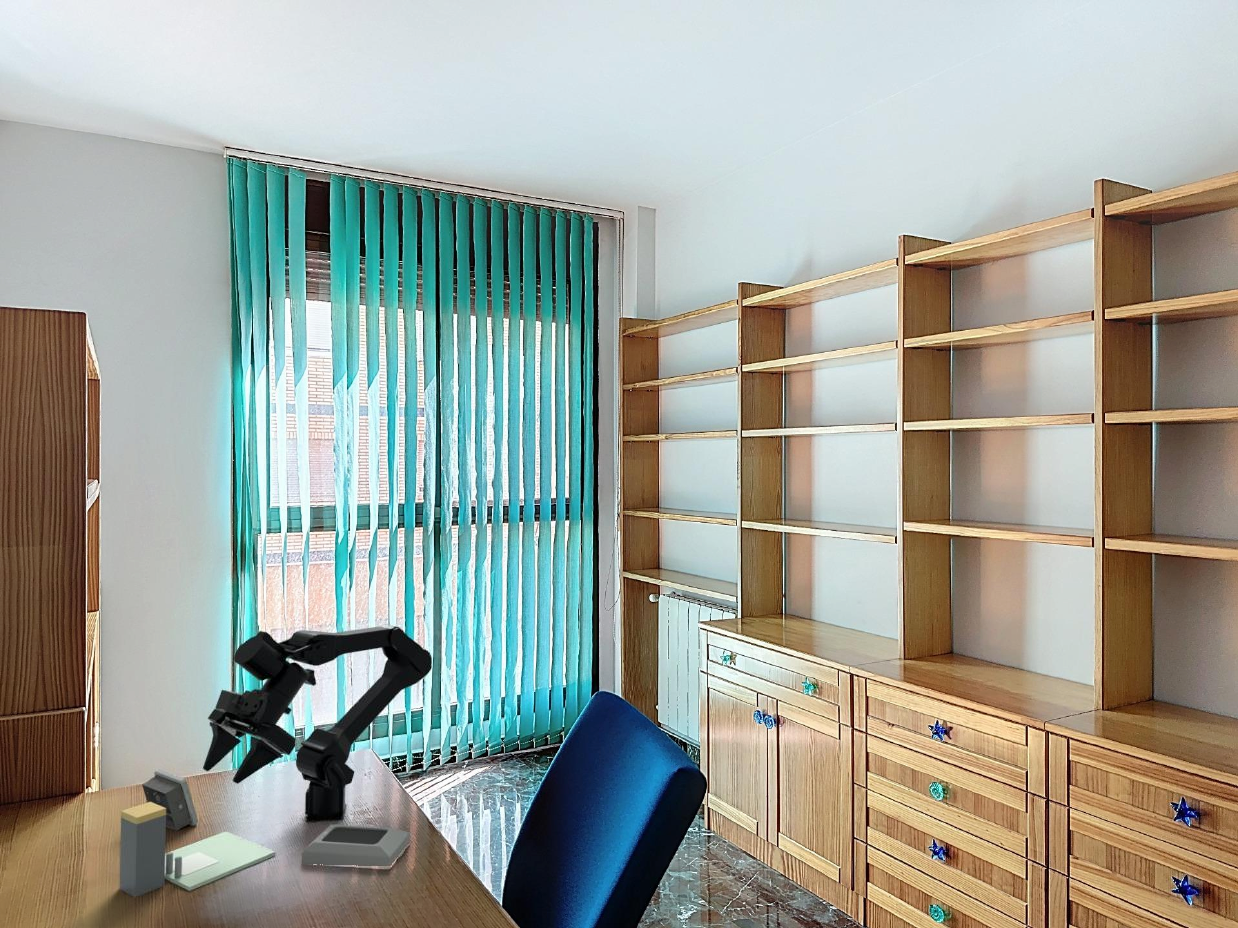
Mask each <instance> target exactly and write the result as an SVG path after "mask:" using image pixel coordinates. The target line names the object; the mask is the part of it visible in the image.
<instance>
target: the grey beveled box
mask: <svg viewBox="0 0 1238 928" xmlns="http://www.w3.org/2000/svg"><path fill="white" fill-rule="evenodd" d="M410 838H411V833H410V832H409V831H405V830H403V829H399V828H396V827H395V828H393V827H379V826H365V825H364V826H363V825H362V826H361V825H346V824H345V825H343V824H333V823H332V824H331V825H329V826H327V827H326V828H325V829H324V830H323V831H322V832H321V833H320V834H319V835H318V836H317V837H316V838H315V839H314V840H313V841H312V842H311V843H310V844H309V845H307V847H306V848H305V849H304V850H303V851H302V852H301V861H300V862H301V865H302V864H304V865H305V864H306V866H308V865H307V864H311V865H310V866H314V865H313V864H317V865H320V864H321V865H322V864H323V865H356V866H357V865H358V866H391V865H392V863H393V862H394V861H395V859H396V858H397V857H398V855H399V854H400V853H401V852H402V850H404V848H405V847H406V846H407V845H408V844H409V843H410V841H411V839H410ZM410 844H411V843H410ZM317 865H316V866H317Z"/></svg>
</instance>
